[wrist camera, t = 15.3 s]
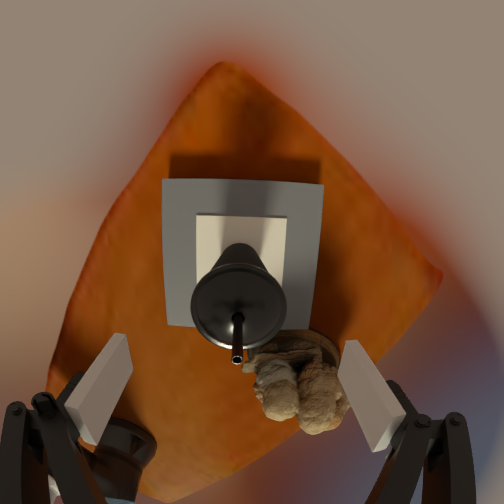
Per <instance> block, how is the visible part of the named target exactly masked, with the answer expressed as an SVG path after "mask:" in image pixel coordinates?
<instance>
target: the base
mask: <svg viewBox="0 0 504 504" xmlns="http://www.w3.org/2000/svg"><path fill="white" fill-rule="evenodd" d="M323 192H324V185H319V184H308V183H295V182H281V181H264V180H240V179H162V245H163V268H164V285H165V298H166V310H167V321H168V325H175V326H188V327H196V326H195V324H194V322H193V319H192V316H191V310H190V303H191V297H192V294H193V291H194V289H195V287H196V285H197V284H198V282H199V281H200V280H201V278H202V277H203V276H204V275H206V274H207V273H208V272H210V270H211V269H212V267H213V266H214V264H215V263H216V261H217V260H218V259H219V257H220V256H221V254H222V253H223V251H224V250H225V249H226V248H227V247H228V246H230V245H232V244H235V243H244V244H247V245H249V246H251V247H252V248H253V249H254V250H255V251H256V252H257V254H258V256H259V257H260V259H261V261H262V262H263V264H264V265H265V267H266V269H267V270H268V272H269V273H270V274H271V275H272V276H273V277H274V278H275V279H276V280H277V281H278V283H279V284H280V286H281V287H282V289H283V292H284V294H285V297H286V302H287V313H286V318H285V321H284V323H283V325H282V327H281V329H280V330H297V329H309V322H310V315H311V308H312V301H313V294H314V286H315V278H316V270H317V261H318V251H319V242H320V231H321V219H322V207H323Z"/></svg>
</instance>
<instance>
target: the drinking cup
mask: <svg viewBox="0 0 504 504" xmlns="http://www.w3.org/2000/svg"><path fill="white" fill-rule="evenodd" d="M190 310H191V316H192V319H193V322H194V324H195V326H196V328H197V329H198V331H199V332H200V333H201V334H202V335H203V336H204V337H205V338H206V339H207V340H208V341H210V342H211V343H213V344H215V345H217V346H219V347H222V348H225V349H230V350H232V357H231V361H232V362H233V363H234V364H240V363H242V362H243V350H248V349H253V348H256V347H259V346H261V345H263V344H265V343H267V342H268V341H270V340H271V339H272V338H273V337H274V336H275V335H276V334H277V333H278V332H279V330H280V329H281V327H282V325H283V323H284V321H285V318H286V313H287V302H286V297H285V294H284V292H283V289H282V287H281V286H280V284H279V283H278V281H277V280H276V279H275V278H274V277H273V276H272V275H271V274H270V273H269V272H268V270H267V269H266V267H265V265H264V264H263V262H262V261H261V259H260V257H259V256H258V254H257V252H256V251H255V250H254V249H253V248H252V247H251V246H249V245H247V244H244V243H235V244H232V245H230V246H228V247H227V248H226V249H225V250H224V251H223V253H222V254H221V256H220V257H219V259H218V260H217V261H216V263H215V264H214V266H213V267H212V269H211V270H210V272H208V273H207V274H206V275H204V276H203V277H202V278H201V280H200V281H199V282H198V284H197V285H196V287H195V289H194V291H193V294H192V297H191V303H190Z"/></svg>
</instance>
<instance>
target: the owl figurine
mask: <svg viewBox="0 0 504 504" xmlns="http://www.w3.org/2000/svg"><path fill="white" fill-rule="evenodd" d="M247 355H248V359H249V361H245V363H244V364H243V366H241V370H242V372H244V373H247V372H255V373H256V374H257V378H256V380H255V381H256V382H255V384H254V385H253V391H255V396H256V397H257V398H258V399H259V400H260V401H261V402H262V403H263V410H264V412H265V414H266V416H267V417H268V418H271V419H273V420H276V421H283V420H285V419H287V418H292V417H293V416H294V415H295V414H296V417H297V419H298V421H299V425H300V427H301V429H303V430H304V431H305V432H307V434H311V435H314V434H318V433H321V432H322V431H327V430H331V429H334V428H336V427H337V426H338V425H339V424H340V423H341V421H342V419H343V417H344V413H345V412H346V410H347V409H348V408H349V407H350V406H351V404H350V402H349V400H348V398H347V396H346V393H345V391H344V389H343V387H342V385H341V383H340V380H339V378H338V376H337V374H338V369H339V365H340V355H339V352H338V350H337V348H336V346H335V345H334V343H333V342H332V341H330V339H328V338H327V337H326V336H324V335H323V334H321V333H319V332H317V331H315V330H313V329H297V330H279V332H278V333H277V334H276V335H275V336H274V337H273V338H272V339H271V340H270V341H268V342H267V343H265V344H263V345H261V346H259V347H256V348H253V349H248V350H247ZM306 362H308V363H306ZM303 363H306V364H305V365H303V367H302V369H301V371H300V372H298V370H297V369H295V368H299V367H300V366H301V365H300V364H303Z"/></svg>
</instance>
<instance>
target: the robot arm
mask: <svg viewBox="0 0 504 504" xmlns="http://www.w3.org/2000/svg"><path fill="white" fill-rule="evenodd" d="M132 372H133V366H132V361H131V357H130V352H129V347H128V343H127V337H126V334H120V333H114V335H113V336H112V337H111V339H110V340H109V341H108V343H107V344H106V345H105V347H104V348H103V349H102V351H101V352H100V354H99V355H98V356H97V358H96V359H95V360H94V362H93V363H92V365H91V366H90V367H89V369H88V370H87V372H86V373H83V372H79V373H77V374H76V375H74V376H73V377H72V378H71V380H70V381H69V383H68V384H67V385H66V386H65V388H64V389H63V391H62V392H61V393H60V395H59V396H58V398H57V399H56V401H55V399H54V397H53V395H52V394H50V393H48V392H41V393H38V394H36V395H35V396H34V397H33V398H32V401H31V404H32V406H33V408H34V410H28V409H27V408H26V406H25V404H24V403H22V402H19V401H16V402H13V403H11V404H10V405H8V407H7V409H6V414H5V418H4V423H3V429H2V435H1V442H0V504H53V503H54V500H55V498H56V496H58V495H60V496H61V498H62V500H63V503H64V504H135V500H136V495H137V491H138V487H139V483H140V479H141V475H142V472H143V470H144V468H145V467H146V466H147V465H148V463H149V462H150V461H151V460H152V459H153V457H154V456H155V453H156V449H157V444H156V442H155V440H154V439H153V438H152V437H151V436H150V435H149V434H148V433H147V432H146V431H144V430H143V429H141V428H140V427H138V426H136V425H134V424H132V423H129V422H127V421H124V420H121V419H117V418H110V417H111V415H112V412H113V410H114V408H115V406H116V404H117V402H118V400H119V398H120V396H121V394H122V392H123V390H124V388H125V386H126V384H127V382H128V380H129V378H130V376H131V374H132ZM337 376H338V378H339V380H340V383H341V385H342V387H343V389H344V391H345V393H346V396H347V398H348V400H349V402H350V404H351V406H352V409H353V411H354V413H355V415H356V417H357V420H358V422H359V424H360V426H361V428H362V431H363V433H364V435H365V437H366V439H367V442H368V444H369V446H370V449H371V451H372V452H376V451H379V450H383V449H386V447H387V446H388V444H389V443H391V445H392V449H391V451H390V452H389V453H388V455H387V456H386V458H385V459H386V462H385V464H384V466H383V468H382V471H381V473H380V475H379V477H378V479H377V481H376V483H375V485H374V487H373V489H372V491H371V493H370V495H369V496H368V498H367V500H366V502H365V504H410V501H411V498H412V496H413V493H414V490H415V488H416V485H417V482H418V479H419V476H420V473H421V470H422V467H424V468H423V490H422V503H421V504H476V486H475V474H474V465H473V457H472V450H471V444H470V439H469V432H468V427H467V422H466V419H465V417H464V416H463V415H462V414H460V413H458V412H451V413H449V414H447V416H446V417H445V419H444V420H431V418H430V417H428V416H427V415H424V414H418V412H417V411H416V409H415V408H414V406H413V405H412V403H411V402H410V400H409V399H408V398H407V397H406V395H405V393H404V392H403V390H402V389H401V388H400V386H399V385H398V384H397V383H395V382H394V381H393V380H388V381H385V380H384V379H383V377H382V376H381V374H380V373H379V371H378V370H377V368H376V367H375V365H374V364H373V362H372V361H371V359H370V358H369V356H368V355H367V353H366V352H365V350H364V349H363V347H362V346H361V345H360V343H359V342H358V340H349V341H346V343H345V347H344V351H343V355H342V359H341V363H340V367H339V370H338V374H337ZM80 435H81V437H82V439H83V440H84V442H87V443H90V444H93V445H95V450H94V453H92V452H90V451H89V450H87V449H86V448H85V447H83V446H82V445H80V443H79V442H78V438H79V436H80ZM423 463H424V465H423Z"/></svg>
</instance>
